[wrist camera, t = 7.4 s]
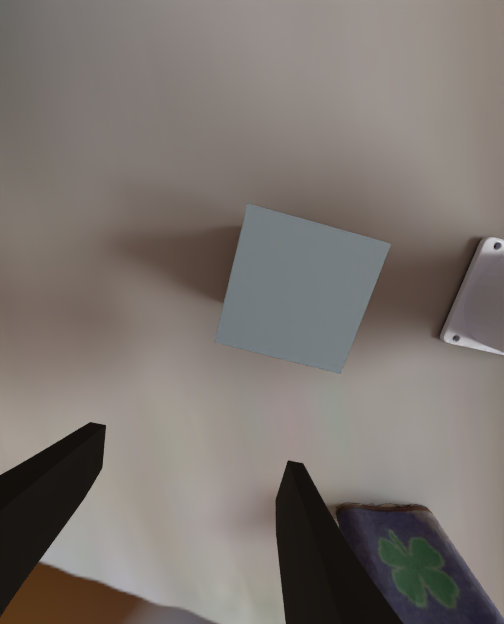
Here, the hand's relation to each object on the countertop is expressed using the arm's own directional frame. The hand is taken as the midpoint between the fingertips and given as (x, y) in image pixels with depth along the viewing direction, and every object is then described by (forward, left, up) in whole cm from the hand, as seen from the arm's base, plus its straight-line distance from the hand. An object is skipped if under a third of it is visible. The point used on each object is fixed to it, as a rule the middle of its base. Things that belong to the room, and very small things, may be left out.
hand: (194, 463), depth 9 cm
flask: (-18, +13, -11) cm, 25 cm away
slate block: (-2, -7, -6) cm, 10 cm away
